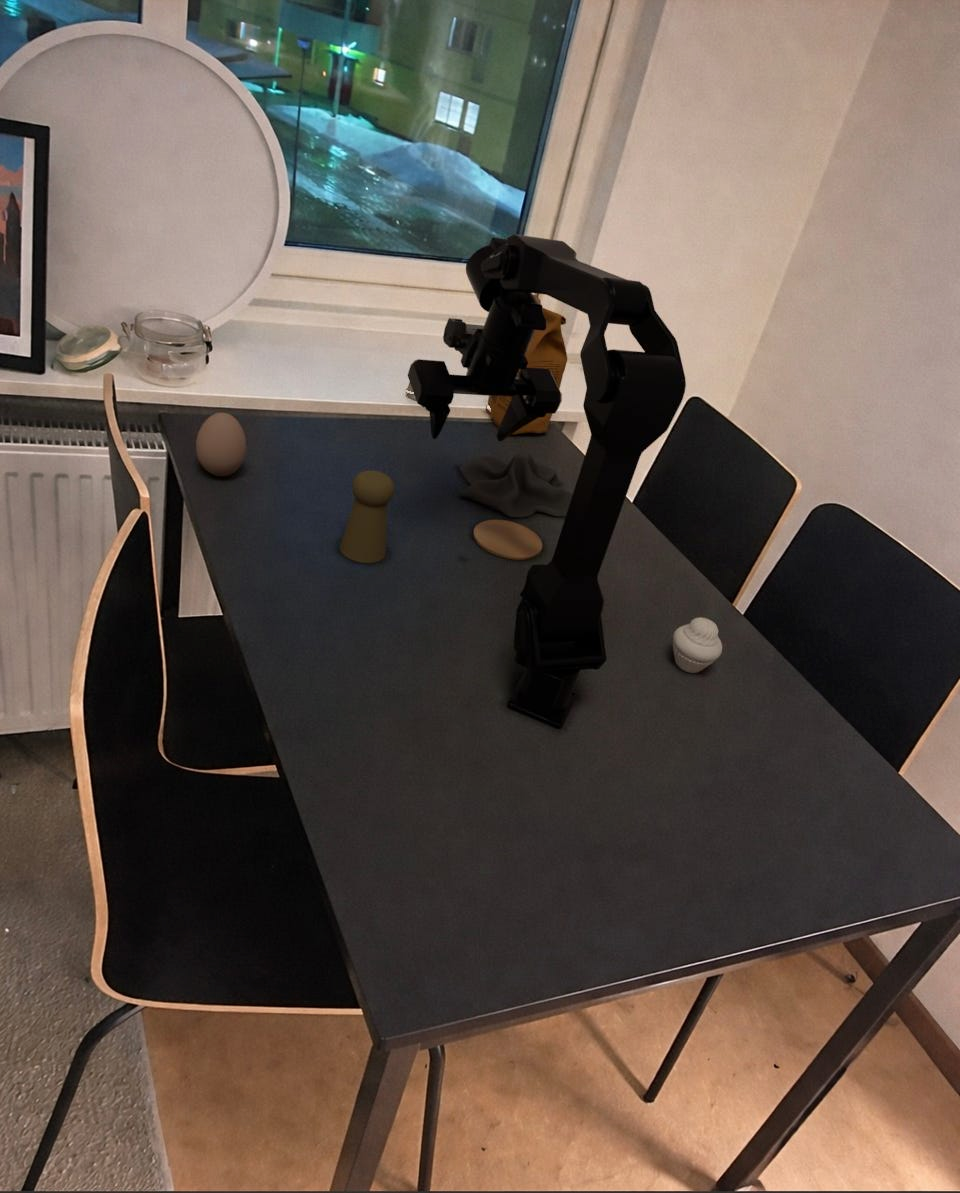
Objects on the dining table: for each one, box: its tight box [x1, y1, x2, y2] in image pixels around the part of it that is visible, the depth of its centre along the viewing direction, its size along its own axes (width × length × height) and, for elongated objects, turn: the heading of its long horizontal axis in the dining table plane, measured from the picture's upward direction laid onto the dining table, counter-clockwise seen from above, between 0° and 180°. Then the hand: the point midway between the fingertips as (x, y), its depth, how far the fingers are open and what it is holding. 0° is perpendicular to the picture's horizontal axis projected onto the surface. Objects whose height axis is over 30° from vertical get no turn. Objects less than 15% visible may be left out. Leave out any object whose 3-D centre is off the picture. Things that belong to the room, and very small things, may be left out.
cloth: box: [459, 451, 573, 518], centre depth 141 cm, size 22×19×6 cm
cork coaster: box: [472, 519, 543, 561], centre depth 129 cm, size 10×10×1 cm
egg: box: [195, 412, 247, 477], centre depth 124 cm, size 7×7×9 cm
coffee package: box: [485, 294, 568, 436], centre depth 159 cm, size 10×12×22 cm
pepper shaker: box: [339, 470, 395, 564], centre depth 116 cm, size 6×6×11 cm
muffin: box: [672, 616, 723, 674], centre depth 111 cm, size 6×6×7 cm
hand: (466, 437), depth 117 cm, fingers open, 9 cm apart
